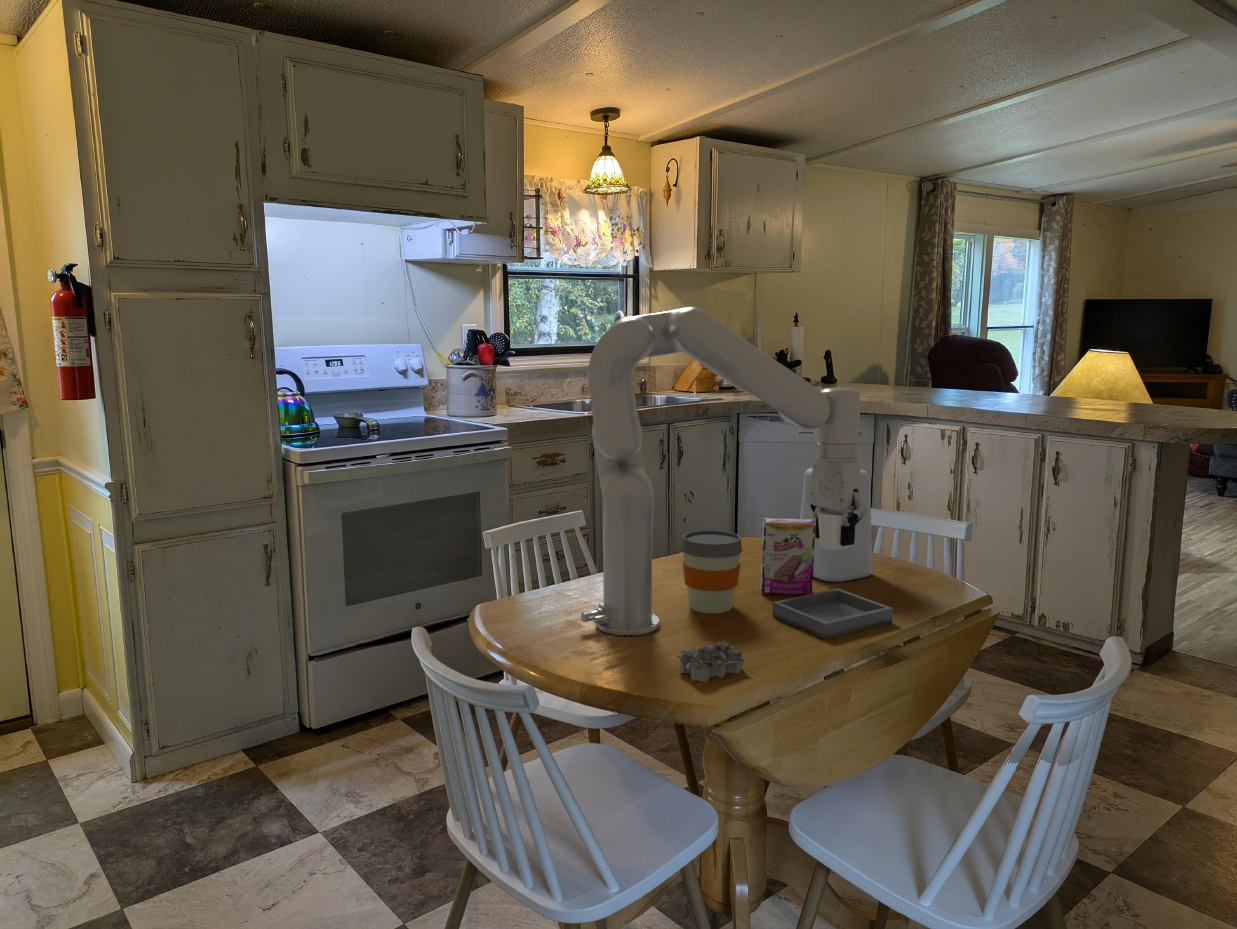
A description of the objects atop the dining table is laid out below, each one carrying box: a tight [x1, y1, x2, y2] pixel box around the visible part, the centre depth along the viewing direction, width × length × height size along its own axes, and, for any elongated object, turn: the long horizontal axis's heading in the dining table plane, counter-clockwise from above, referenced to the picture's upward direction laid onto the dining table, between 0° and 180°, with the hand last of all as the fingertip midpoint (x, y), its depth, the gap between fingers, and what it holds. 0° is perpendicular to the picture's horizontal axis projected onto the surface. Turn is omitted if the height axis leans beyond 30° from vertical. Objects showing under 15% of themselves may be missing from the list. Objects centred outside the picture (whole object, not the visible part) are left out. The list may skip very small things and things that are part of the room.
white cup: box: [818, 509, 851, 549], centre depth 167 cm, size 7×7×7 cm
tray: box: [771, 588, 894, 640], centre depth 169 cm, size 18×15×3 cm
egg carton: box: [676, 640, 748, 682], centre depth 144 cm, size 11×8×4 cm
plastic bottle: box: [799, 467, 873, 583], centre depth 200 cm, size 15×15×28 cm
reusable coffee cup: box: [681, 529, 743, 614], centre depth 177 cm, size 12×13×15 cm
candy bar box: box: [760, 517, 815, 596], centre depth 186 cm, size 11×5×16 cm, turn 84°
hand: (834, 540), depth 167 cm, fingers closed on white cup, 6 cm apart
